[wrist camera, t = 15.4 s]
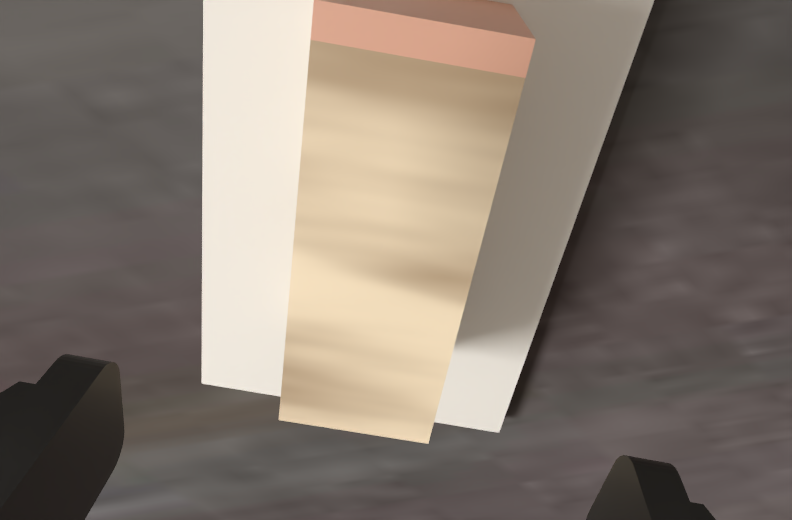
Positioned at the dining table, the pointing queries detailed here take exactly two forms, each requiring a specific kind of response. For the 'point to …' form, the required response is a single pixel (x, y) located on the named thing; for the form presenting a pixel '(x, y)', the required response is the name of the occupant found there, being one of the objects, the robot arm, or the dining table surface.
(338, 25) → the maple block
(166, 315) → the dining table surface
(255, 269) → the mat
